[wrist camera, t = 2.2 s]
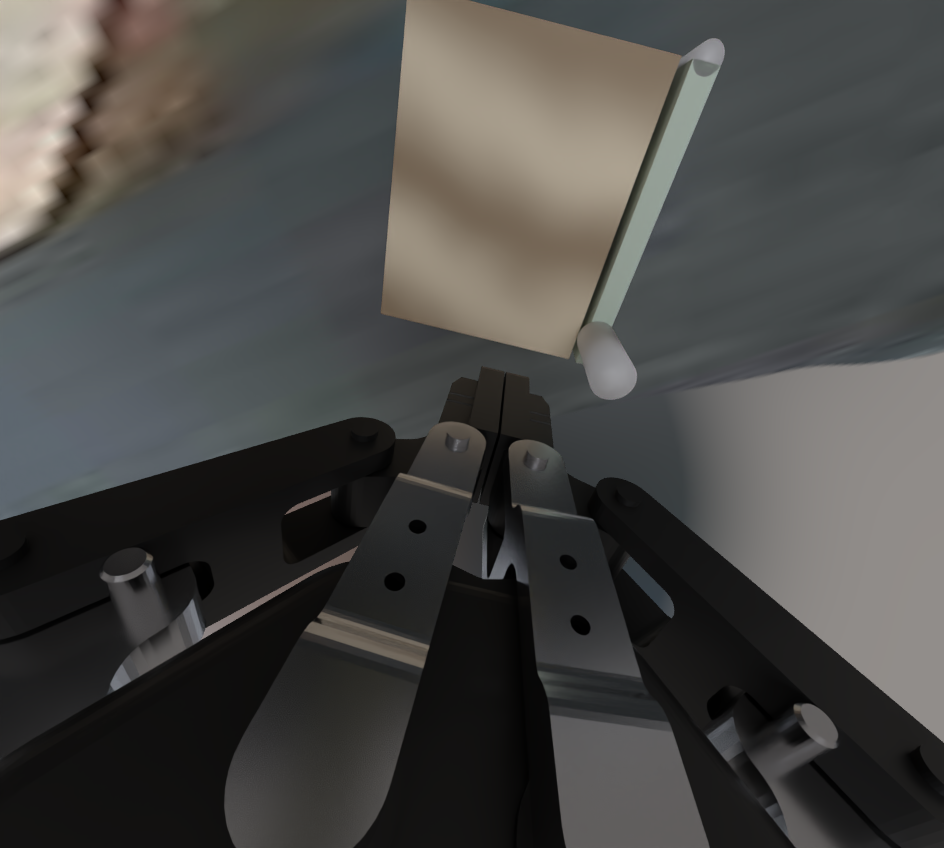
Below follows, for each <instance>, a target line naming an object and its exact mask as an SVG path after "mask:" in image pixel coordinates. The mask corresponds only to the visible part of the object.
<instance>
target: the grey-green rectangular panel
mask: <svg viewBox="0 0 944 848" xmlns="http://www.w3.org/2000/svg"><path fill="white" fill-rule="evenodd" d="M724 54H725V49H724V45H723V43H722V42H721V41H720V40H719V39H715V38H712V39H708V40H706V41H705V42H703V43H702V44H700V45H699V46H698V47H696V48H695V49H693V50H692V51H691V52H689V53H688V54H686V55H685V56H684V57H682V58H681V59H680V62H679V64H678V67H677V70H676V72H675V75H674V78H673V81H672V83H671V86H670V89H669V91H668V94H667V97H666V99H665V102H664V105H663V107H662V110H661V113H660V115H659V118H658V121H657V123H656V126H655V129H654V132H653V134H652V137H651V140H650V142H649V145H648V148H647V150H646V153H645V156H644V158H643V161H642V164H641V166H640V169H639V172H638V175H637V177H636V180H635V183H634V185H633V188H632V191H631V193H630V196H629V199H628V201H627V204H626V207H625V209H624V212H623V215H622V218H621V220H620V223H619V226H618V228H617V231H616V234H615V236H614V239H613V242H612V244H611V247H610V250H609V252H608V255H607V258H606V261H605V263H604V266H603V269H602V271H601V274H600V277H599V279H598V282H597V285H596V287H595V290H594V293H593V295H592V298H591V301H590V303H589V306H588V309H587V312H586V314H585V317H584V320H583V322H582V325H581V328H580V330H579V333H578V336H577V338H576V341H575V344H574V346H573V353H574V357H575V360H576V363H580V364H583V365H584V368H585V371H586V374H587V378H588V381H589V384H590V387H591V390H592V391H593V393H594V394H595V395H597V396H598V397H600V398H603V399H607V400H614V399H618V398H621V397H623V396H625V395H627V394H628V393H629V392H630V391H631V390H632V389H633V388H634V386H635V384H636V381H637V372H636V369H635V367H634V366H633V364H632V362H631V360H630V358H629V357H628V355H627V353H626V351H625V350H624V348H623V346H622V344H621V342H620V341H619V339H618V337H617V335H616V334H615V332H614V330H613V328H612V326H613V323H614V321H615V318H616V316H617V314H618V311H619V309H620V306H621V304H622V302H623V299H624V297H625V294H626V292H627V290H628V287H629V285H630V282H631V280H632V278H633V275H634V273H635V270H636V268H637V266H638V263H639V261H640V258H641V256H642V254H643V251H644V249H645V246H646V244H647V242H648V239H649V237H650V234H651V232H652V230H653V227H654V225H655V222H656V220H657V218H658V215H659V213H660V210H661V208H662V206H663V203H664V201H665V198H666V196H667V194H668V191H669V189H670V186H671V184H672V182H673V179H674V177H675V174H676V172H677V170H678V167H679V165H680V162H681V160H682V158H683V155H684V153H685V150H686V148H687V146H688V143H689V141H690V138H691V136H692V134H693V131H694V129H695V126H696V124H697V122H698V119H699V117H700V114H701V112H702V110H703V107H704V105H705V102H706V100H707V98H708V95H709V93H710V90H711V88H712V86H713V83H714V81H715V78H716V76H717V74H718V71H719V69H720V66H721V64H722V62H723V59H724Z"/></svg>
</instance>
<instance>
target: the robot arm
mask: <svg viewBox="0 0 944 848" xmlns="http://www.w3.org/2000/svg"><path fill="white" fill-rule="evenodd" d="M481 488H482V489H481ZM328 491H331V496H329V497H327V498H324V499H322V500H319V501H317V502H315V503H312V504H310V505H307V506H305V507H303V508H300V509H298V510H296V511H293V512H291V513H289V514H286V512H287V511H288V510H289V509H291V508H292V507H294V506H295V505H297V504H299V503H301V502H304V501H306V500H308V499H311V498H313V497H316V496H318V495H321V494H323V493H326V492H328ZM480 492H481V497H480V504H483V505H488V506H489V509H488V514H487V517H486V521H485V524H484V527H483V555H482V578H479V577H476V576H474V575H472V574H470V573H468V572H466V571H464V570H462V569H460V568H458V567H456V566H453V565H452V564H453V561H454V557H455V554H456V550H457V546H458V543H459V539H460V536H461V532H462V528H463V525H464V522H465V518H466V517H467V516H468V514H469V512H470V509H471V505H472V502H474V503H477V502H478V498H479V495H480ZM285 514H286V515H285ZM358 545H359V546H358ZM356 546H358V548H357V549H356V551H355V553H354V555H353V557H352V558H351V560H350V561H349V562H345V563H341V564H338V565H335V566H331V567H329V568H326V569H324V570H322V571H320V572H317V573H315V574H313V575H312V576H310V577H308V578H306V579H305V580H303V581H301V582H299V583H298V584H296V585H294V586H293V587H291V588H289V589H288V590H286V591H284V592H282V593H281V594H279V595H277V596H276V597H274V598H272V599H271V600H269V601H267V602H265V603H264V604H262V605H260V606H259V607H257V608H255V609H254V610H252V611H250V612H248V613H247V614H245V615H243V616H242V617H240V618H238V619H236V620H235V621H233V622H231V623H230V624H228V625H226V626H225V627H223V628H221V629H220V630H218V631H216V632H214V633H213V634H211V635H209V636H207V637H206V638H204V639H202V640H201V638H202V636H203V634H204V631H205V628H206V627H208V626H210V625H212V624H214V623H216V622H218V621H219V620H221V619H223V618H225V617H227V616H228V615H231V614H232V613H234V612H236V611H238V610H240V609H242V608H244V607H245V606H247V605H249V604H251V603H253V602H255V601H256V600H258V599H260V598H262V597H264V596H265V595H268V594H269V593H271V592H273V591H275V590H277V589H279V588H281V587H282V586H284V585H286V584H288V583H290V582H292V581H294V580H295V579H297V578H299V577H301V576H303V575H304V574H306V573H308V572H310V571H312V570H314V569H316V568H318V567H319V566H321V565H323V564H325V563H327V562H329V561H330V560H332V559H334V558H336V557H338V556H340V555H342V554H344V553H345V552H347V551H349V550H351V549H353V548H355V547H356ZM630 556H631V557H632V558H633V559H634V560H635V561H636V562H637V563H638V564H639V565H640V566H641V567H642V568H643V569H644V570H645V571H646V572H647V573H648V574H649V575H650V576H651V577H652V578H653V579H654V580H655V581H656V582H657V583H658V584H659V585H660V586H661V587H662V588H663V589H664V590H665V591H666V592H667V593H668V595H669V596H670V597H671V600H672V601H673V604H674V610H675V611H674V616H673V617H672V618H670V617H669V616H667V615H666V614H665V613H664V612H663V611H662V610H661V609H660V608H659V607H658V605H657V604H656V603H655V602H654V601H653V600H652V599H651V598H650V597H649V596H648V595H647V594H646V593H645V592H644V591H643V590H642V589H641V588H640V587H639V586H638V585H637V583H635V581H634V580H633V579H632V578H631V577H630V576H629V575H628V574H627V573H626V572H625V571H624V570H623V569H622V568H623V566H624V565H625V563H626V562H627V560H628V558H629V557H630ZM200 640H201V641H200ZM0 848H944V743H943V742H942V741H941V740H940V739H939V738H937V737H936V736H935V735H934V734H932V732H930V731H929V730H928V729H926V727H924V726H923V725H922V724H921V723H920V722H918V721H917V720H916V719H915V718H914V717H913V716H911V715H910V714H909V713H908V712H907V711H905V710H904V709H903V708H902V707H901V706H899V705H898V704H897V703H896V702H895V701H893V700H892V699H891V698H890V697H889V696H887V695H886V694H885V693H884V692H883V691H882V690H880V689H879V688H878V687H877V686H875V685H874V684H873V683H872V682H871V681H870V680H869V679H867V678H866V677H865V676H864V675H863V674H861V673H860V672H859V671H858V670H856V668H854V667H853V666H852V665H851V664H850V663H848V662H847V661H846V660H845V659H844V658H842V657H841V656H840V655H839V654H838V653H837V652H835V651H834V650H833V649H832V648H831V647H829V646H828V645H827V644H826V643H825V642H823V641H822V640H821V639H820V638H819V637H817V636H816V635H815V634H814V633H813V632H811V631H810V630H809V629H808V628H807V627H806V626H804V625H803V624H802V623H801V622H800V621H799V620H797V619H796V618H795V617H794V616H793V615H791V614H790V613H789V612H788V611H787V610H785V609H784V608H783V607H782V606H780V605H779V604H778V603H777V602H776V601H775V600H774V599H772V598H771V597H770V596H769V595H768V594H766V593H765V592H764V591H763V590H761V588H759V587H758V586H757V585H756V584H755V583H753V582H752V581H751V580H750V579H749V578H747V577H746V576H745V575H744V574H743V573H741V572H740V571H739V570H738V569H737V568H736V567H734V566H733V565H732V564H731V563H730V562H728V561H727V560H726V559H725V558H724V557H723V556H721V555H720V554H719V553H718V552H717V551H715V550H714V549H713V548H712V547H711V546H709V545H708V544H707V543H706V542H705V541H703V540H702V539H701V538H700V537H699V536H698V535H696V534H695V533H694V532H693V531H692V530H690V529H689V528H688V527H687V526H686V525H684V524H683V523H682V522H681V521H680V520H678V519H677V518H676V517H675V516H674V515H673V514H671V513H670V512H669V511H668V510H667V509H666V508H664V507H663V506H662V505H661V504H660V503H658V502H657V501H656V500H655V499H654V498H652V497H651V496H650V495H649V494H648V493H646V492H645V491H644V490H643V489H641V488H640V487H638V486H637V485H635V484H633V483H631V482H628V481H626V480H623V479H619V478H604V479H602V480H600V481H599V482H598V484H597V486H596V488H595V487H592V486H590V485H588V484H586V483H584V482H582V481H580V480H578V479H576V478H574V477H572V476H571V475H569V474H568V473H567V472H566V467H565V463H564V460H563V458H562V457H561V455H560V454H559V453H558V452H557V451H556V450H554V448H553V439H552V429H551V419H550V409H549V406H548V404H547V403H546V402H545V400H544V399H543V398H542V397H541V396H537V395H533V394H529V378H528V377H524V376H520V375H516V374H512V373H508V372H506V374H505V376H504V372H503V371H499V370H495V369H491V368H487V367H483V366H482V368H481V372H480V376H479V380H478V381H475V380H471V379H467V378H463V377H461V378H460V379H458V380H457V381H455V382H454V383H452V386H451V389H450V392H449V395H448V398H447V401H446V403H445V406H444V409H443V412H442V415H441V418H440V421H439V423H438V424H437V425H435V426H433V427H432V428H431V430H430V431H429V433H428V435H427V436H426V437H423V438H419V439H395V432H394V431H393V429H392V428H391V427H390V426H389V425H387V424H386V423H384V422H382V421H379V420H376V419H373V418H365V417H357V418H350V419H346V420H343V421H339V422H336V423H333V424H329V425H326V426H322V427H319V428H315V429H312V430H309V431H305V432H302V433H298V434H295V435H291V436H288V437H285V438H281V439H278V440H274V441H271V442H267V443H264V444H261V445H257V446H254V447H250V448H247V449H243V450H240V451H237V452H233V453H230V454H226V455H223V456H219V457H216V458H213V459H209V460H206V461H202V462H199V463H195V464H192V465H189V466H185V467H182V468H178V469H175V470H171V471H168V472H165V473H161V474H158V475H154V476H151V477H147V478H144V479H141V480H137V481H134V482H130V483H127V484H123V485H120V486H117V487H113V488H110V489H106V490H103V491H99V492H96V493H93V494H89V495H86V496H82V497H79V498H75V499H72V500H69V501H65V502H62V503H58V504H55V505H51V506H48V507H45V508H41V509H38V510H34V511H31V512H27V513H24V514H21V515H17V516H14V517H10V518H7V519H4V520H0Z"/></svg>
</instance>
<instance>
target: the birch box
mask: <svg viewBox="0 0 944 848" xmlns="http://www.w3.org/2000/svg"><path fill="white" fill-rule="evenodd" d="M680 59H681V55H677V54H673V53H669V52H666V51H662V50H658V49H654V48H650V47H646V46H642V45H639V44H635V43H631V42H627V41H623V40H619V39H615V38H612V37H608V36H604V35H600V34H596V33H592V32H588V31H585V30H581V29H577V28H573V27H569V26H565V25H561V24H558V23H554V22H550V21H546V20H542V19H538V18H534V17H531V16H527V15H523V14H519V13H515V12H511V11H507V10H503V9H500V8H496V7H492V6H488V5H484V4H480V3H476V2H473V1H469V0H407V7H406V19H405V31H404V43H403V55H402V67H401V78H400V90H399V102H398V114H397V126H396V138H395V150H394V162H393V174H392V186H391V198H390V210H389V222H388V234H387V246H386V258H385V270H384V282H383V294H382V306H381V314H384V315H389V316H393V317H397V318H401V319H405V320H409V321H413V322H417V323H422V324H426V325H430V326H434V327H438V328H442V329H446V330H451V331H455V332H459V333H463V334H467V335H471V336H475V337H479V338H484V339H488V340H492V341H496V342H500V343H504V344H508V345H513V346H517V347H521V348H525V349H529V350H533V351H537V352H541V353H546V354H550V355H554V356H558V357H562V358H566V359H569V357H570V355H571V352H572V349H573V346H574V344H575V341H576V338H577V336H578V333H579V330H580V328H581V325H582V322H583V320H584V317H585V314H586V312H587V309H588V306H589V303H590V301H591V298H592V295H593V293H594V290H595V287H596V285H597V282H598V279H599V277H600V274H601V271H602V269H603V266H604V263H605V261H606V258H607V255H608V252H609V250H610V247H611V244H612V242H613V239H614V236H615V234H616V231H617V228H618V226H619V223H620V220H621V218H622V215H623V212H624V209H625V207H626V204H627V201H628V199H629V196H630V193H631V191H632V188H633V185H634V183H635V180H636V177H637V175H638V172H639V169H640V166H641V164H642V161H643V158H644V156H645V153H646V150H647V148H648V145H649V142H650V140H651V137H652V134H653V132H654V129H655V126H656V123H657V121H658V118H659V115H660V113H661V110H662V107H663V105H664V102H665V99H666V97H667V94H668V91H669V89H670V86H671V83H672V81H673V78H674V75H675V72H676V70H677V67H678V64H679V62H680Z"/></svg>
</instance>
